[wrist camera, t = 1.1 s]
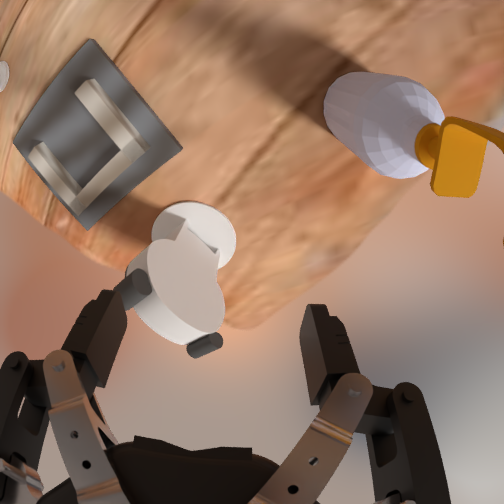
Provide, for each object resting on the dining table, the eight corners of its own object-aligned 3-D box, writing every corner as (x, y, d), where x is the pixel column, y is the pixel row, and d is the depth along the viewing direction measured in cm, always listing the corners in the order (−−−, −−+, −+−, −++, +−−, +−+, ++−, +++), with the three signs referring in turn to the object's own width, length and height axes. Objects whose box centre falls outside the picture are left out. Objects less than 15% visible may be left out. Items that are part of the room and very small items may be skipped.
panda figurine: (132, 232, 36) (90, 316, 24) (190, 179, 32) (157, 259, 20) (193, 284, 42) (179, 371, 30) (253, 244, 38) (258, 338, 26)
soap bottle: (321, 145, 30) (444, 314, 10) (322, 67, 24) (513, 100, 4) (390, 148, 29) (538, 288, 10) (396, 77, 24) (588, 150, 4)
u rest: (16, 140, 26) (3, 147, 23) (94, 39, 20) (81, 38, 18) (90, 227, 35) (81, 239, 33) (183, 148, 29) (177, 155, 27)
